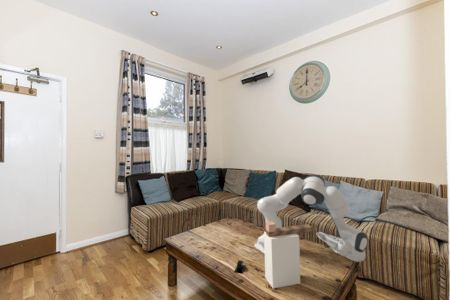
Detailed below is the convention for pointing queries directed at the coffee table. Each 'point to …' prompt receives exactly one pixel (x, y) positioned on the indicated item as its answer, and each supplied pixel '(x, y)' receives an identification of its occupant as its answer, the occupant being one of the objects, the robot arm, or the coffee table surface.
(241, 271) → the black angular part
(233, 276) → the coffee table surface
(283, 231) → the walnut strip
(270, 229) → the terracotta cube
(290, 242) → the pedestal
